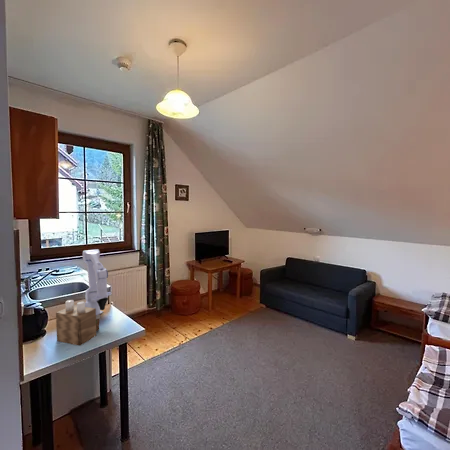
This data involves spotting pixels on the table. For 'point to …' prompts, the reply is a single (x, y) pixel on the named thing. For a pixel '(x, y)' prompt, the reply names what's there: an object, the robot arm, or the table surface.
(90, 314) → the wooden bottle crate
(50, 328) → the table surface
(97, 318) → the food container
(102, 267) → the robot arm
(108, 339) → the table surface
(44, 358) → the table surface
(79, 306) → the tumblers
